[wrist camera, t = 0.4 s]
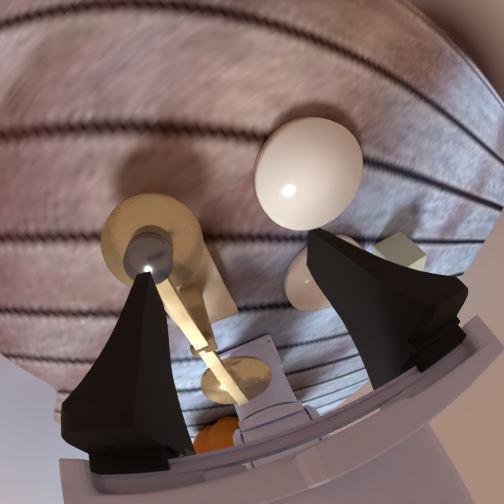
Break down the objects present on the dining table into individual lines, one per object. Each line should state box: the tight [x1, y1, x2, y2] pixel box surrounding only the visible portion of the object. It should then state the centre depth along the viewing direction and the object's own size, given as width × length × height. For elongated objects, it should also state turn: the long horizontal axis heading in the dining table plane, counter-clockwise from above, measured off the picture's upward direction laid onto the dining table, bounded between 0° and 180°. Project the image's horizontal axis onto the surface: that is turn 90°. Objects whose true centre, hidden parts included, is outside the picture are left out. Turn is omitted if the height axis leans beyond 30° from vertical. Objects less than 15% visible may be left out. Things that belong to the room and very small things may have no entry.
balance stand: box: [162, 241, 238, 340], centre depth 22 cm, size 10×6×6 cm, turn 15°
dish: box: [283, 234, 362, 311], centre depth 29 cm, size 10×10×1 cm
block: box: [372, 232, 427, 271], centre depth 30 cm, size 4×4×5 cm
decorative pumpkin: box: [193, 416, 242, 467], centre depth 39 cm, size 24×24×30 cm
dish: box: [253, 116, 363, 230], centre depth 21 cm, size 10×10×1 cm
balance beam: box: [101, 192, 272, 406], centre depth 20 cm, size 23×7×3 cm, turn 16°
